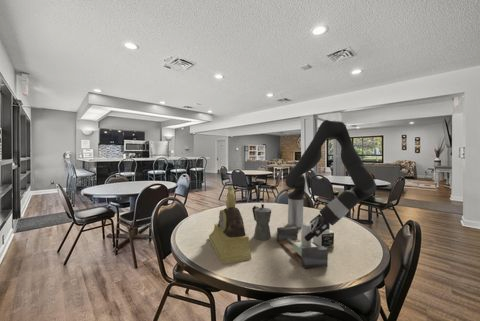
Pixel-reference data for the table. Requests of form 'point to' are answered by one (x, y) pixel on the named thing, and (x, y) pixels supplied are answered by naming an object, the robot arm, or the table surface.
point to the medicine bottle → (325, 238)
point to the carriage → (303, 240)
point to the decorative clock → (230, 233)
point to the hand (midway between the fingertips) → (305, 235)
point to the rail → (309, 256)
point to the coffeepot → (262, 222)
